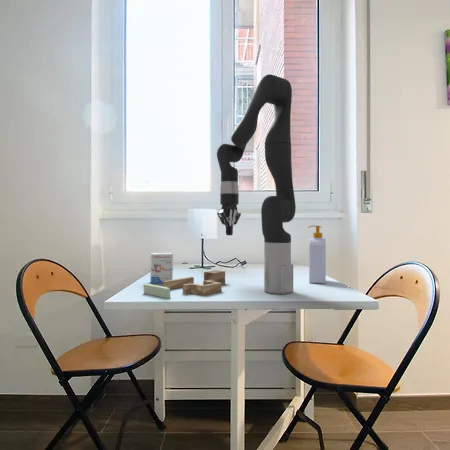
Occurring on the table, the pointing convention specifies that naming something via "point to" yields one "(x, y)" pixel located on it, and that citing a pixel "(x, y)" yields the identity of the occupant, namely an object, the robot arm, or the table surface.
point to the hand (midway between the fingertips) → (229, 235)
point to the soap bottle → (317, 258)
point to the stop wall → (157, 290)
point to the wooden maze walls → (194, 286)
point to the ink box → (161, 267)
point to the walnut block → (215, 276)
